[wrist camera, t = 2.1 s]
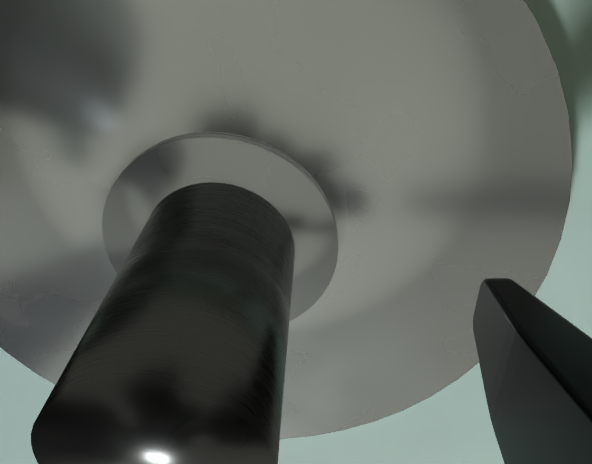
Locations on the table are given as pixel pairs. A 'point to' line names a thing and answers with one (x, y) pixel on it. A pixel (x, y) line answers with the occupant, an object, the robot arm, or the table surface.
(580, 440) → the robot arm
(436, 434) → the table surface
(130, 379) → the lid
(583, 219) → the table surface
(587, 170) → the table surface
